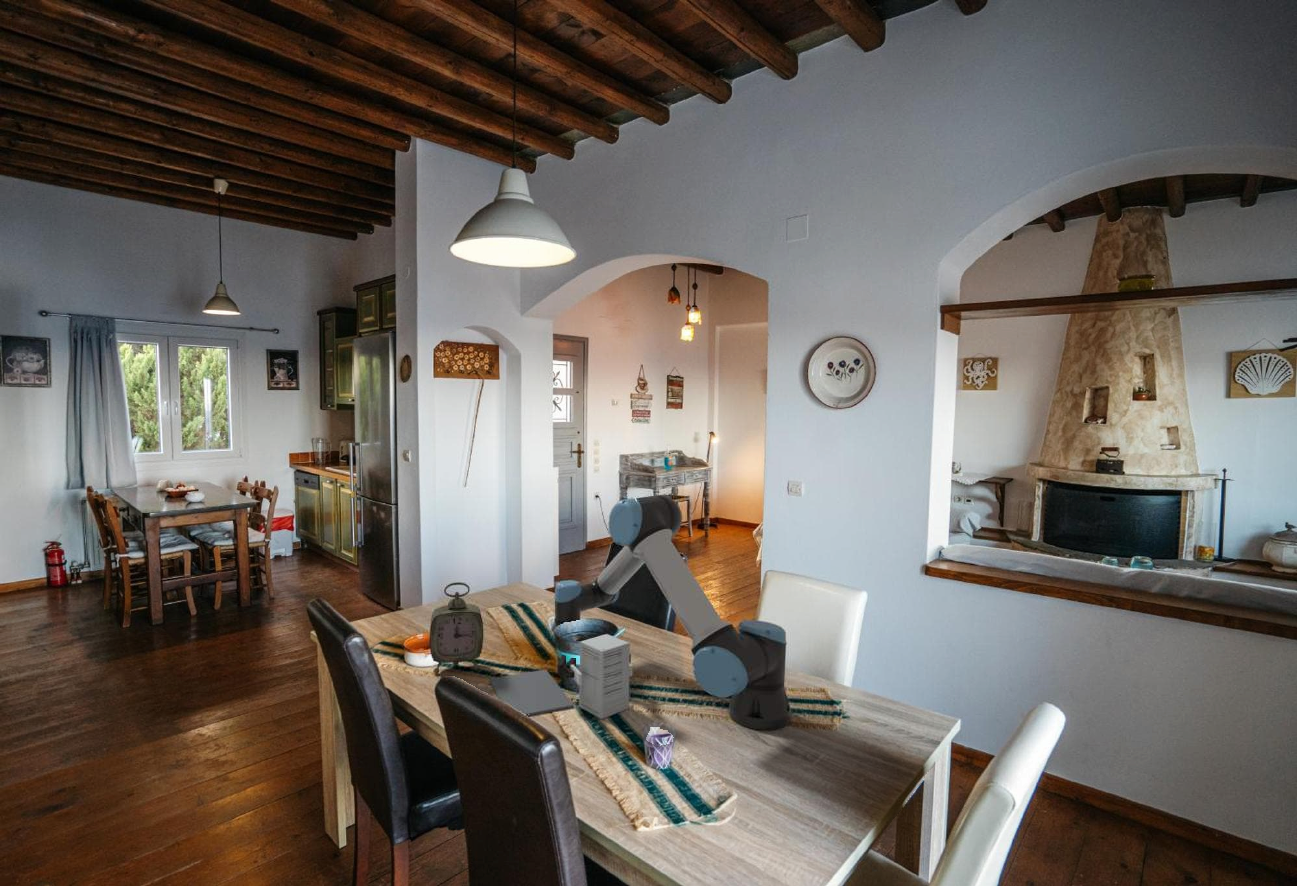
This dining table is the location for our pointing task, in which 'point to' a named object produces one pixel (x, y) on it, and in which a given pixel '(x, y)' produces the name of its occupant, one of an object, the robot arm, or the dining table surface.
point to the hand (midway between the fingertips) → (606, 675)
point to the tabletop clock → (456, 631)
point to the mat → (531, 692)
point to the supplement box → (604, 675)
